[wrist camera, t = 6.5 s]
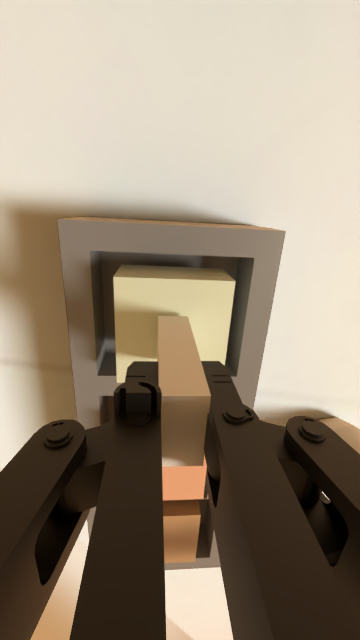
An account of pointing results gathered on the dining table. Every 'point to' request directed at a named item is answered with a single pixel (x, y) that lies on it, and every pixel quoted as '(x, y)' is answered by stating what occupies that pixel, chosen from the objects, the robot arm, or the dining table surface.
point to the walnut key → (180, 530)
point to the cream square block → (170, 310)
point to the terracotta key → (184, 482)
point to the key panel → (175, 251)
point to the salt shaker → (344, 431)
